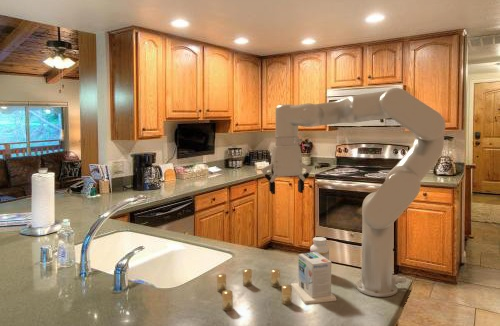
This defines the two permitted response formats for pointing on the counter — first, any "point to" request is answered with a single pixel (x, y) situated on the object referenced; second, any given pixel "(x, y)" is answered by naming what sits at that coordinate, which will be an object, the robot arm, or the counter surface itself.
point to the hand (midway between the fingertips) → (286, 192)
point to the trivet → (308, 298)
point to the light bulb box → (314, 274)
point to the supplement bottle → (320, 247)
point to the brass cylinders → (247, 281)
